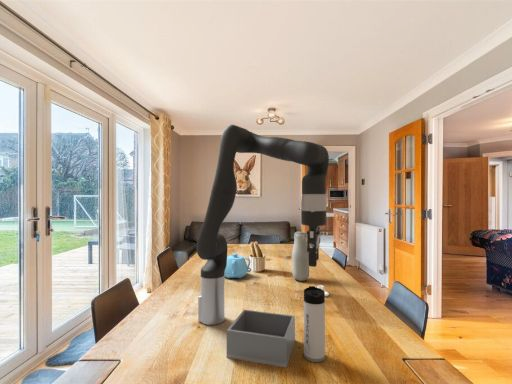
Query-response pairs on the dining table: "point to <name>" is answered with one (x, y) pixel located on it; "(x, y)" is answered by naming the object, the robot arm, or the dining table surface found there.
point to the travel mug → (314, 324)
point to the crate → (261, 338)
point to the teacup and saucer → (323, 289)
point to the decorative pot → (236, 266)
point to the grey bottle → (300, 257)
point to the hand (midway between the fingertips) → (313, 262)
